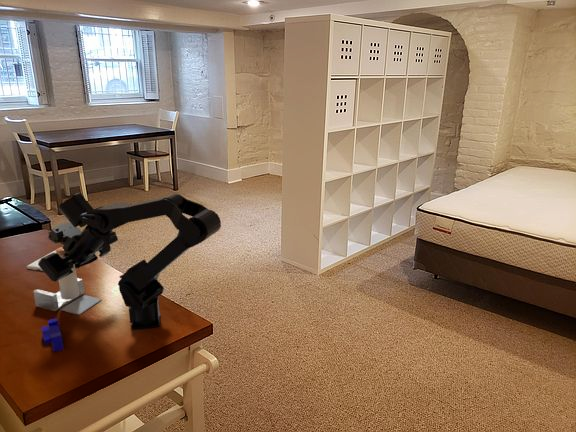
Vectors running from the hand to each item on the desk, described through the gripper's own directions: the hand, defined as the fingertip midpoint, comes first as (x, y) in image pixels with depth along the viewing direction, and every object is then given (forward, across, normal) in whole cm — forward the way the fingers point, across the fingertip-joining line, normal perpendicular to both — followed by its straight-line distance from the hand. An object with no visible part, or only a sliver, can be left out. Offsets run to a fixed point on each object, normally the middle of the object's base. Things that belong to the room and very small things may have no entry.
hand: (62, 272), depth 113 cm
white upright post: (+4, 0, +6) cm, 7 cm away
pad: (+3, 0, +10) cm, 10 cm away
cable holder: (-1, +15, +14) cm, 21 cm away
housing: (+8, 0, +4) cm, 9 cm away
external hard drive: (+23, -17, -10) cm, 30 cm away
